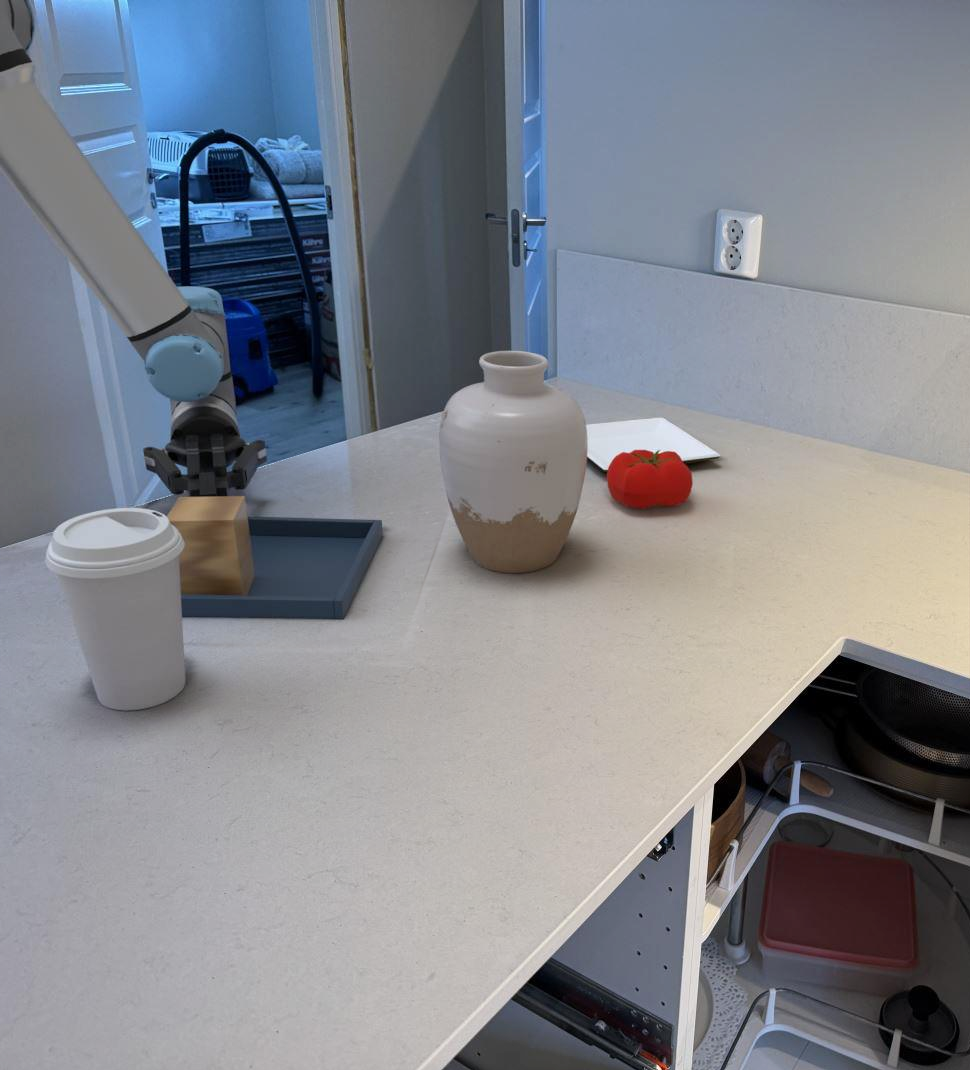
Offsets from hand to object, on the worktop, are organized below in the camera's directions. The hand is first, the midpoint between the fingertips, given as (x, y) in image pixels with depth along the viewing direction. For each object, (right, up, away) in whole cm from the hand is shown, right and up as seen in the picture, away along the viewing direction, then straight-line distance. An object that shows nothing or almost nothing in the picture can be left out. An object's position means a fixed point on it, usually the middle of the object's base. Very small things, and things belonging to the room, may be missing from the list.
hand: (209, 506), depth 102 cm
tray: (+3, -7, +2) cm, 8 cm away
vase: (+29, -5, +11) cm, 32 cm away
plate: (+40, +9, +46) cm, 62 cm away
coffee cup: (+3, -16, -18) cm, 24 cm away
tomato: (+43, +1, +29) cm, 52 cm away
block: (+2, -8, -3) cm, 9 cm away
